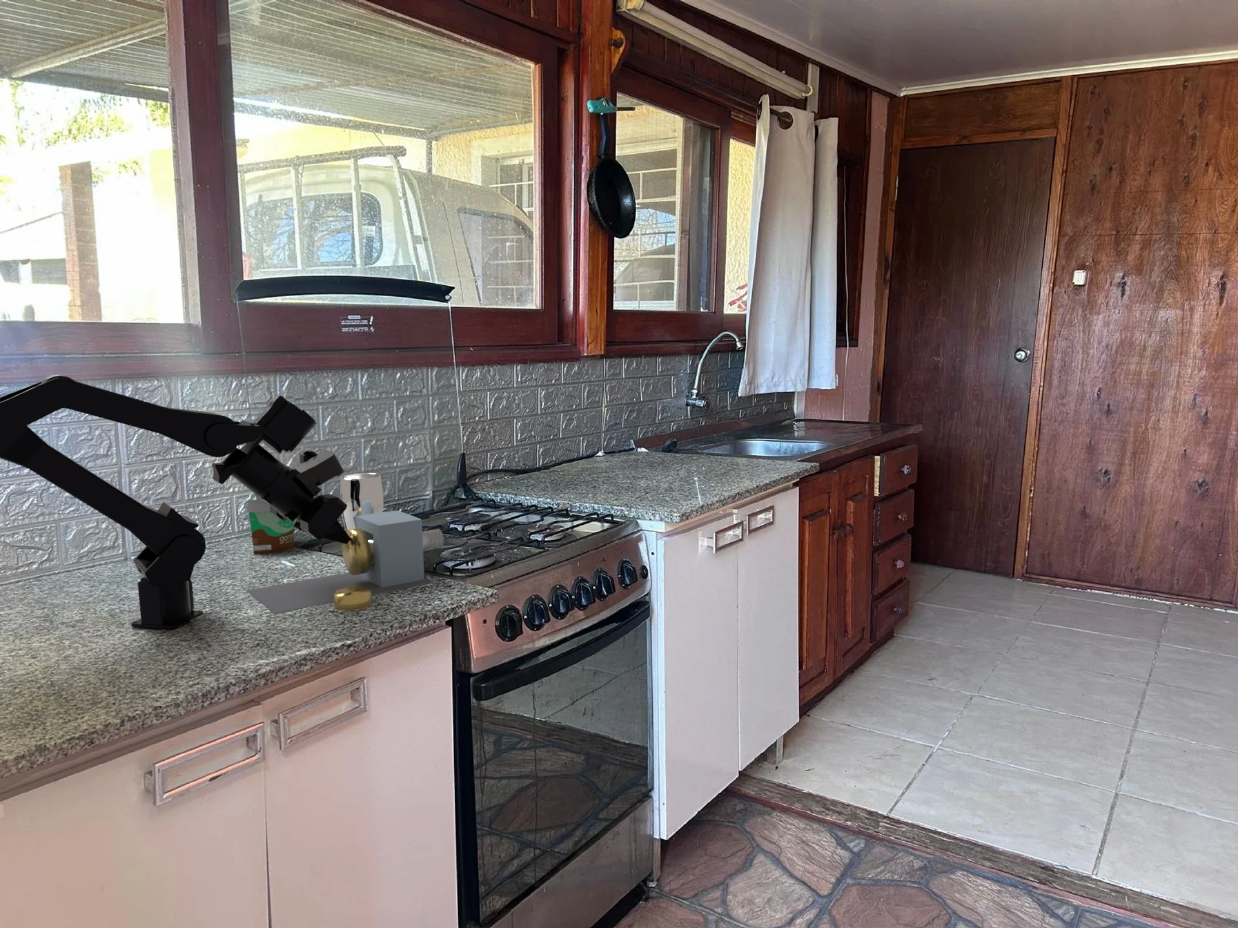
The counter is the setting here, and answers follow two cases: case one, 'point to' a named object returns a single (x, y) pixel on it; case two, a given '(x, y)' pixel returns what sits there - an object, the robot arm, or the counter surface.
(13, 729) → the counter surface
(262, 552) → the food container
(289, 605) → the mat
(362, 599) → the gold domed disc
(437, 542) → the shaft
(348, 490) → the beer glass
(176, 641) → the counter surface
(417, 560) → the bearing block
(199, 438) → the robot arm
